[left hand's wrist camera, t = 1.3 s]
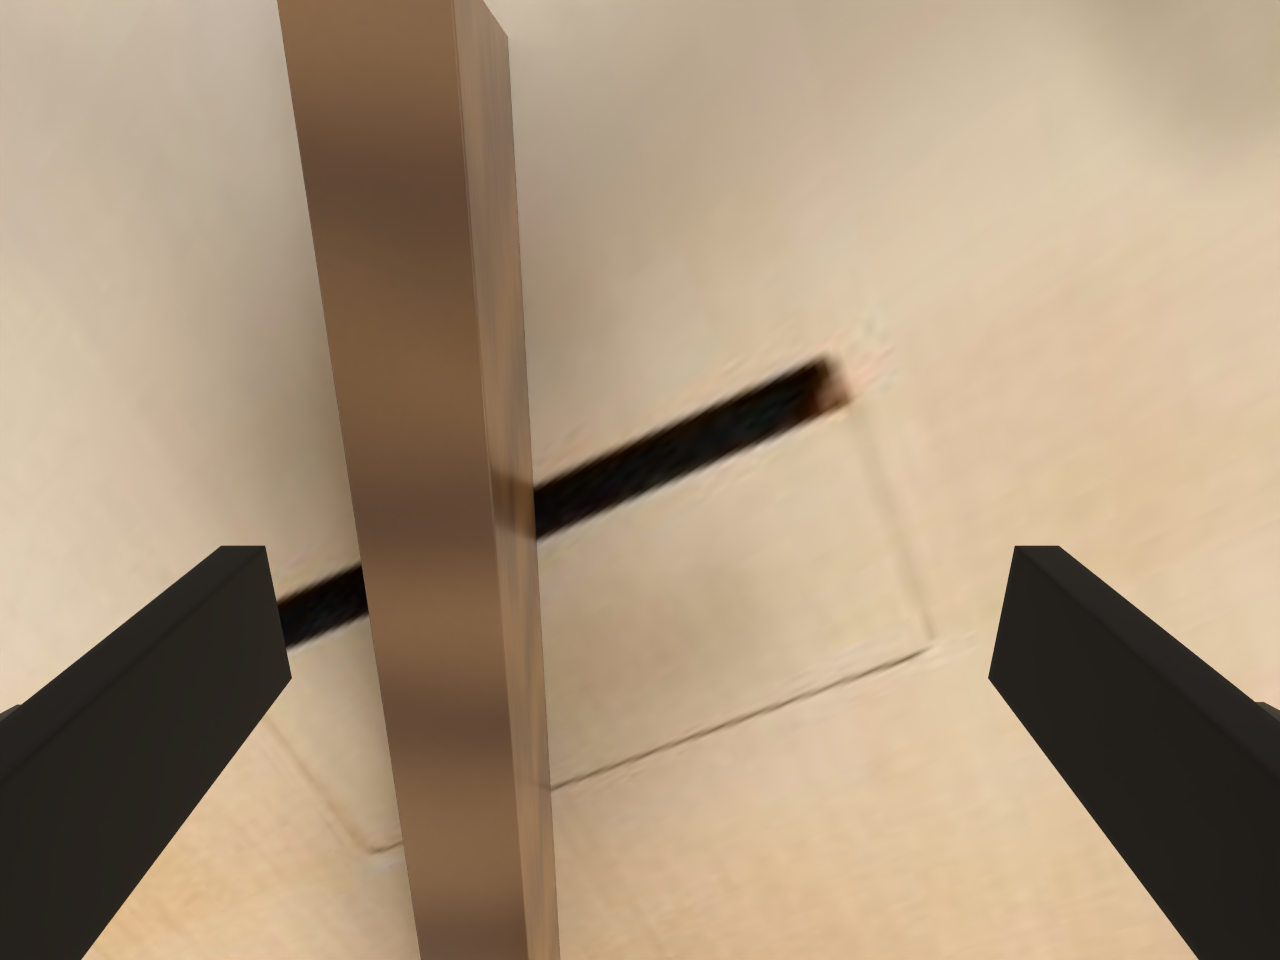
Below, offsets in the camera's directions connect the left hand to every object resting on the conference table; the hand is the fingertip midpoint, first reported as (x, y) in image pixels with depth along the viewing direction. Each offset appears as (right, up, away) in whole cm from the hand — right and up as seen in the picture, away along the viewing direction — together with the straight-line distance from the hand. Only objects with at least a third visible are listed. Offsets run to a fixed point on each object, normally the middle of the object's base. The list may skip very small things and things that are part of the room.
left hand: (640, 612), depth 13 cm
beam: (-7, -14, +25) cm, 29 cm away
